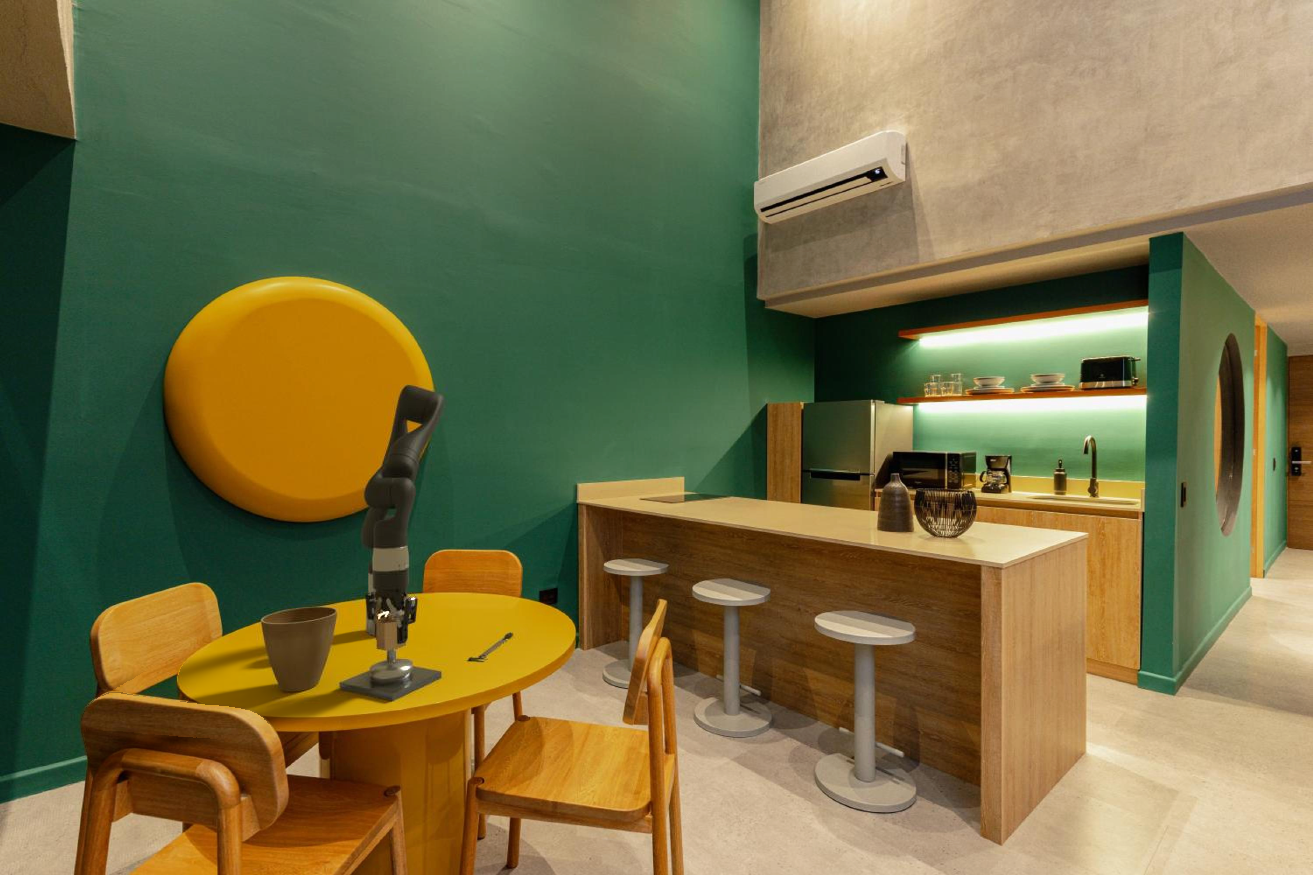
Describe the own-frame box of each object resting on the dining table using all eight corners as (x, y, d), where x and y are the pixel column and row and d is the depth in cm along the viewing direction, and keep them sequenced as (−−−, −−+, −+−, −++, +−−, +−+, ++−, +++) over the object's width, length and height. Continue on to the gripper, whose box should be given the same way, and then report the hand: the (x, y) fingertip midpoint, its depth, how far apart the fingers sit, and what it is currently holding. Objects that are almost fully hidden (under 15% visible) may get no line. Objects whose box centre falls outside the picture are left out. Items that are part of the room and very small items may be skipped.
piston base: (339, 689, 137) (339, 625, 137) (390, 667, 149) (390, 609, 149) (392, 701, 130) (392, 634, 130) (441, 677, 143) (441, 616, 143)
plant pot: (341, 688, 137) (341, 616, 137) (261, 705, 129) (261, 627, 129) (334, 668, 149) (333, 602, 149) (260, 682, 141) (260, 611, 141)
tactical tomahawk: (491, 667, 152) (491, 663, 152) (467, 662, 154) (467, 658, 154) (528, 639, 172) (529, 635, 172) (507, 635, 174) (507, 631, 174)
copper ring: (370, 647, 138) (370, 620, 138) (392, 639, 144) (392, 613, 144) (390, 651, 136) (390, 623, 136) (411, 643, 141) (411, 616, 141)
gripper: (354, 567, 139) (354, 642, 139) (401, 571, 133) (401, 650, 133) (381, 561, 146) (381, 632, 146) (427, 565, 140) (428, 640, 140)
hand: (391, 640), depth 140 cm, fingers closed on copper ring, 6 cm apart
